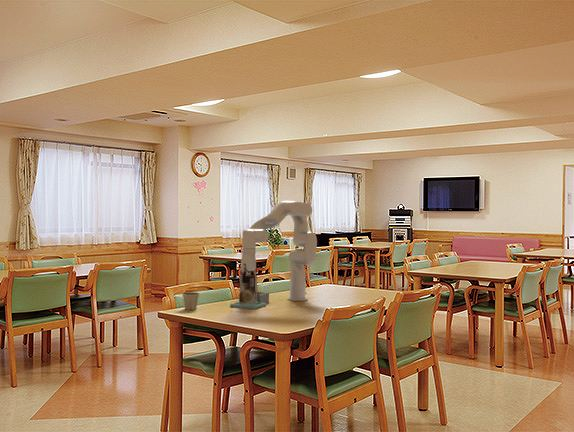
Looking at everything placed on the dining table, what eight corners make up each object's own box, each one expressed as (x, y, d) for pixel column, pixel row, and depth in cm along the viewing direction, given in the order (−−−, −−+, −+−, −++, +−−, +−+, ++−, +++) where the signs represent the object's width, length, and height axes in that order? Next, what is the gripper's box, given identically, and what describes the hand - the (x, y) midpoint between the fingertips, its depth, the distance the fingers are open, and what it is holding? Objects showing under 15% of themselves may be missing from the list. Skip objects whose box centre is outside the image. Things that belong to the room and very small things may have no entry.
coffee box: (257, 303, 321) (257, 275, 321) (255, 305, 315) (255, 276, 315) (241, 302, 322) (241, 274, 322) (239, 304, 316) (239, 276, 316)
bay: (248, 300, 339) (248, 291, 339) (268, 302, 333) (268, 292, 333) (238, 303, 329) (238, 293, 329) (259, 305, 323) (260, 294, 323)
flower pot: (195, 310, 301) (195, 294, 301) (179, 310, 303) (179, 294, 303) (201, 308, 310) (202, 292, 310) (185, 307, 312) (185, 291, 312)
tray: (241, 303, 327) (241, 300, 328) (265, 306, 321) (265, 302, 321) (230, 306, 316) (230, 303, 316) (255, 309, 309) (255, 306, 309)
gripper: (250, 250, 328) (250, 280, 328) (235, 251, 312) (235, 283, 312) (261, 250, 325) (261, 281, 325) (247, 252, 309) (247, 284, 309)
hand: (248, 282), depth 318 cm, fingers closed on coffee box, 7 cm apart
